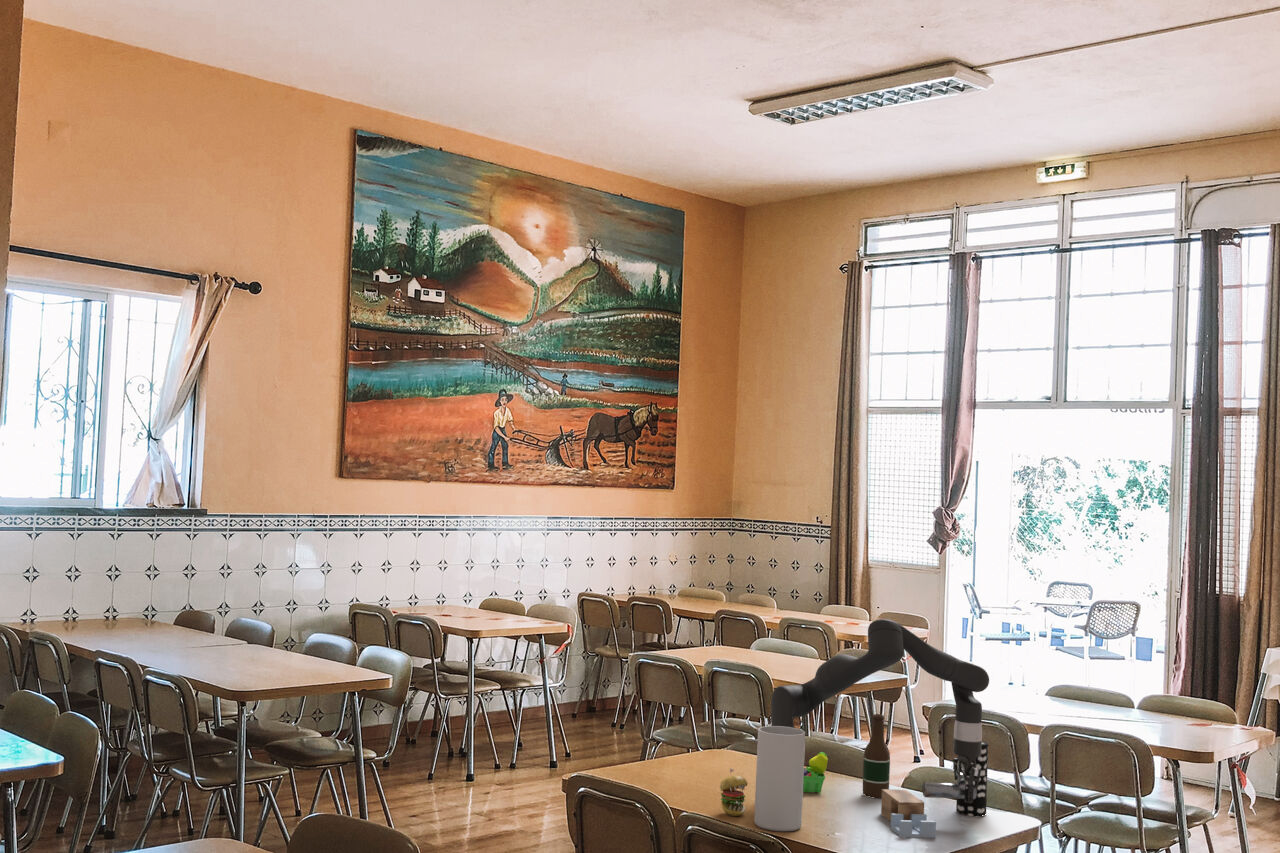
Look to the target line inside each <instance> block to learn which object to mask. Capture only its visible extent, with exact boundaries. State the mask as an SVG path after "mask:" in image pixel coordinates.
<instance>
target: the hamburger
mask: <svg viewBox="0 0 1280 853" xmlns="http://www.w3.org/2000/svg"><path fill="white" fill-rule="evenodd" d="M729 772H730V774H732V773H733V772H735V769H733V768H729ZM719 786H720V787H719V789H720V791H721V794H720V796H721V798H720V800H721V804H720V806H721V808H722V810H723V812H724V813H726V814H728V815H730V816H733V817H740V816H742V815H743V814H744V813H745V812H746V807H745V805H744V802H746V799H745V798H746V795H745V794H744V791H745V787H747V786H748V782H747V779H746V778H745V777H743V776H741V775H735V774H734V775H730V776H728V777H725V778H724V779H723V780H721V782H720V785H719Z"/></svg>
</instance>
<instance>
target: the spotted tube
mask: <svg viewBox="0 0 1280 853" xmlns="http://www.w3.org/2000/svg"><path fill="white" fill-rule="evenodd" d="M975 760H976V768H977V769H981V774H980V779H979V784H978V788H977V789H976V790H977V795H976V798H975V799H973V803H966V802H965V801H964V799H956V805H955V806H956V809H955V810H956V811H957V812H956V813H958V814H960V815H963V814H964V815H963V816H967V815H969V816H968V817H976V816H980V817H983V816H982V815H985V814H986V815H987V802H988V801H987V800H988V799H987V798H988V797H987V796H988V795H987V794H988V768H989V767H988V766H989V765H988V764H989V762H988V760H989V743H988V742H986V741H983V740H982V747H981V756H980V757H977V758H976V759H975ZM960 773H961V772H960ZM968 781H969V780H968ZM986 815H985V816H986Z"/></svg>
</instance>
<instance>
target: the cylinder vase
mask: <svg viewBox="0 0 1280 853" xmlns="http://www.w3.org/2000/svg"><path fill="white" fill-rule="evenodd" d="M756 747H757V748H756V749H757V750H756V774H755V794H754V819H753V822H754V824H755V825H756V826H757V827H759V828H760V829H764V830H766V831H771V832H772V831H774V832H794V831H797V830H799V829H801V827H802V824H803V822H802V818H803V803H802V798H804V792H803V773H804V768H805V754H804V748H806V731H804V730H802V729H799V728H796V727H795V728H791V727H782V726H771V725H767V726H761V727H758V729H757V746H756Z"/></svg>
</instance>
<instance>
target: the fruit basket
mask: <svg viewBox="0 0 1280 853" xmlns="http://www.w3.org/2000/svg"><path fill="white" fill-rule="evenodd" d="M827 756H828V755H827V754H826V753H825V752H823V751H821V752H819V753H817V755H815V756H814V757H812V758H810V759H809V761H808V765H809V766H806V767H804V779H803V793H809V792H818V793H817V794H821V791H822V788H823V784H824V781H825V778H826V775H825V774H824V773H825V772H826V771H827V767H828V765H827V764H828V760H829V759H828V757H827Z"/></svg>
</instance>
